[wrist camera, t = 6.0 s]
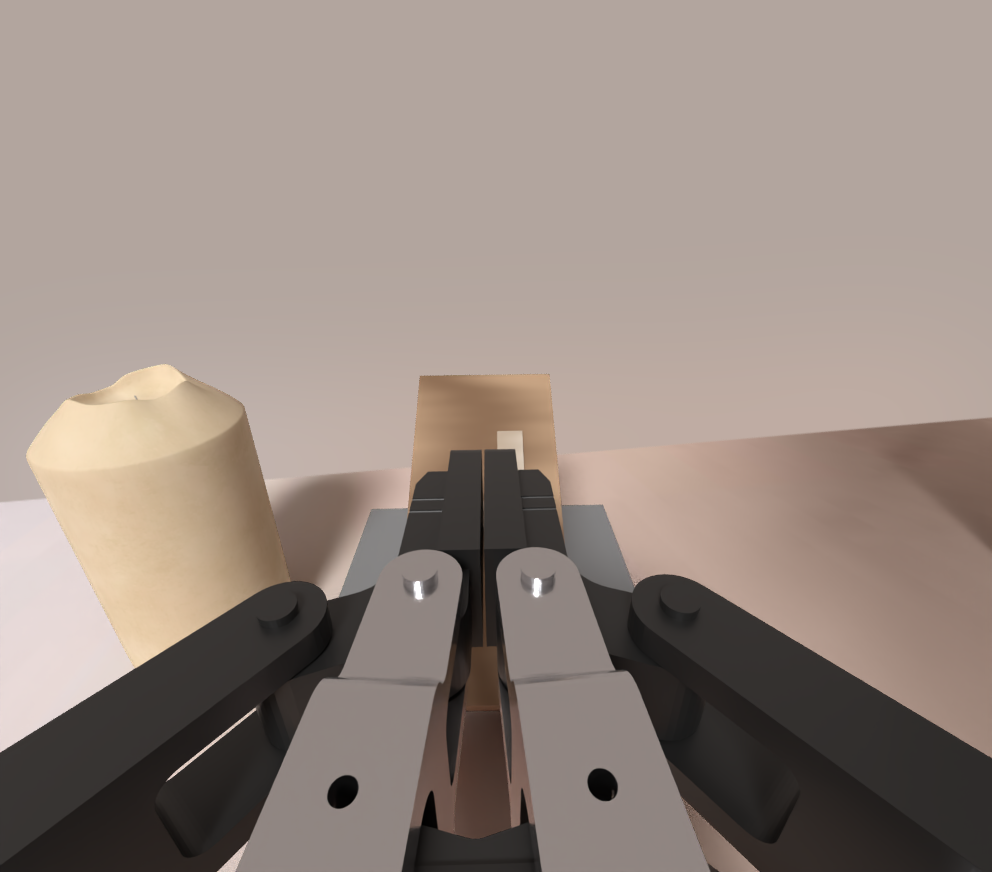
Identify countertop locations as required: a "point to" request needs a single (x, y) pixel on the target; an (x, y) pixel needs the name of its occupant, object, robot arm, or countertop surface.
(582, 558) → the mat
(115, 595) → the candle
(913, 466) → the countertop surface
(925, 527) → the countertop surface
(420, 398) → the tan rectangular block
